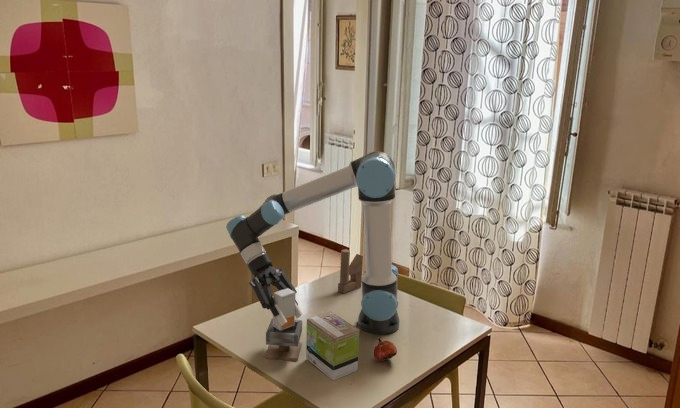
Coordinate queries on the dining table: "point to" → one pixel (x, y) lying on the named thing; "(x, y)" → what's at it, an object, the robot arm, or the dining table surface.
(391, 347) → the red rounded piece
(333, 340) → the tea box
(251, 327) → the dining table surface
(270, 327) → the cup stand
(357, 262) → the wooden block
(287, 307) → the skincare box
